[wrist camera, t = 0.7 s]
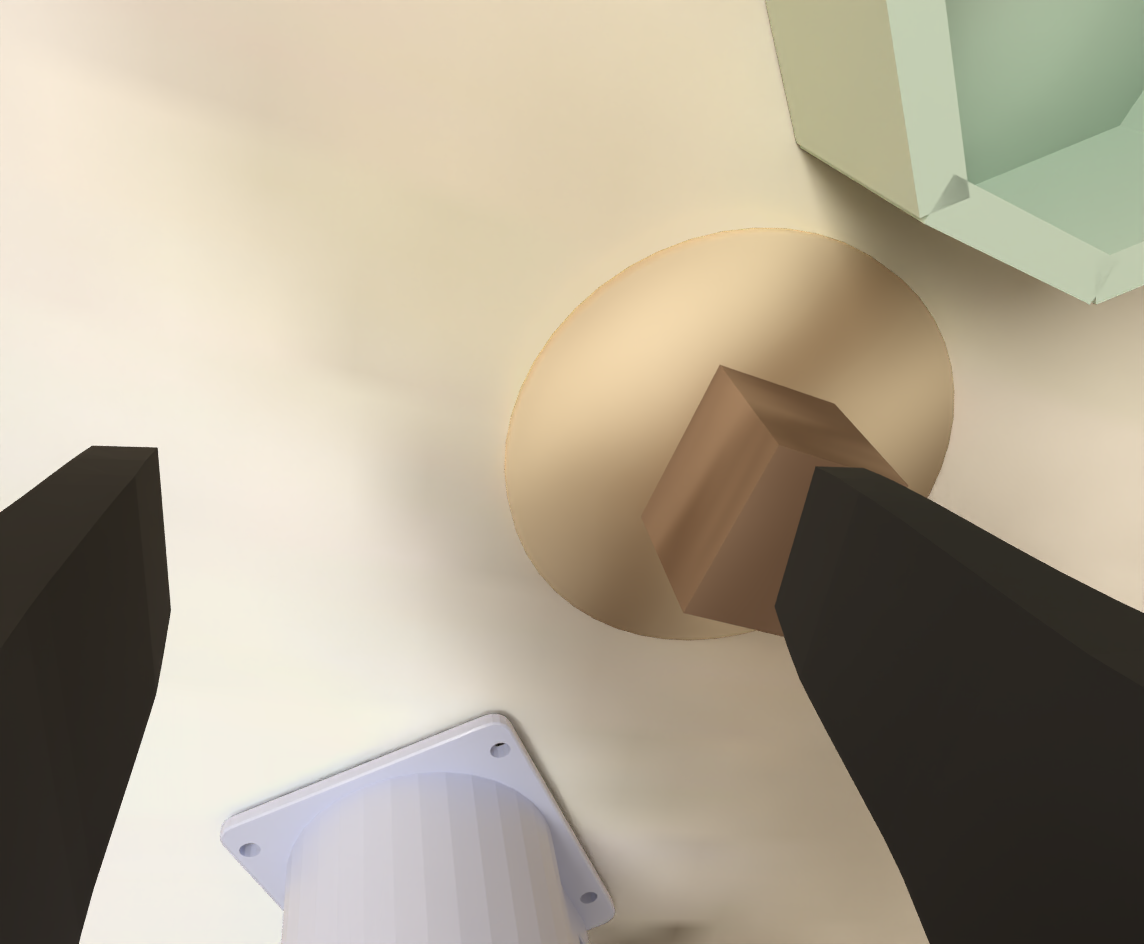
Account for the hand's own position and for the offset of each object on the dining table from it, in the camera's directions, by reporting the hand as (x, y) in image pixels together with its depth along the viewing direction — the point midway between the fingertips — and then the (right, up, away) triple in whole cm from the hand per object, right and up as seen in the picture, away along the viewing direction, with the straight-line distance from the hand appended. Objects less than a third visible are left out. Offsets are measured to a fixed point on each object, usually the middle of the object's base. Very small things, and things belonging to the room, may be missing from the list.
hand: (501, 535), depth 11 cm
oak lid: (+4, +1, +12) cm, 13 cm away
